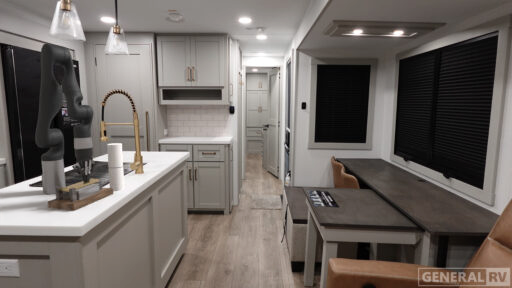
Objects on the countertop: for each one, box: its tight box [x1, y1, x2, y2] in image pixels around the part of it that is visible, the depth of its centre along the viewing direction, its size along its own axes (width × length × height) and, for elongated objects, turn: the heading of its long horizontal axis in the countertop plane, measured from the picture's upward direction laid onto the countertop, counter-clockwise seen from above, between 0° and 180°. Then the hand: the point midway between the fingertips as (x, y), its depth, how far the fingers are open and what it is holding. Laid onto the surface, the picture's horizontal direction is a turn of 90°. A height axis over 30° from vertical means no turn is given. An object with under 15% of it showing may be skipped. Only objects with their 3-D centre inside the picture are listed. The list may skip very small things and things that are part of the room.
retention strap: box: [59, 178, 100, 192], centre depth 134 cm, size 5×18×2 cm, turn 168°
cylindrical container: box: [106, 142, 125, 192], centre depth 153 cm, size 7×7×25 cm
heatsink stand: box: [47, 180, 114, 212], centre depth 135 cm, size 14×24×9 cm, turn 168°
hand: (86, 181), depth 137 cm, fingers closed
